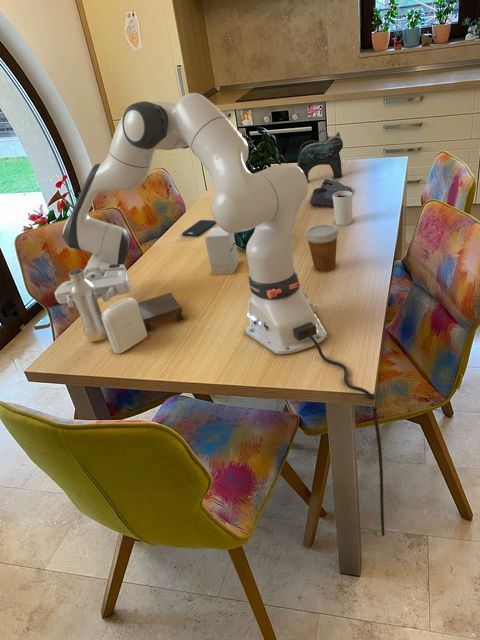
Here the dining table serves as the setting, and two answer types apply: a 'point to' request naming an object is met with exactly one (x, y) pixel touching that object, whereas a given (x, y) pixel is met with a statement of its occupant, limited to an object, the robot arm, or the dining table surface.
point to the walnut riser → (159, 309)
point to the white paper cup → (343, 207)
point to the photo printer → (124, 324)
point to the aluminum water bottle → (87, 305)
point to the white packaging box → (221, 251)
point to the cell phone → (199, 228)
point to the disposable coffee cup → (323, 246)
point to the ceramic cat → (322, 155)
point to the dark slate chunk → (327, 193)
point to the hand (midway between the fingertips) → (88, 301)
